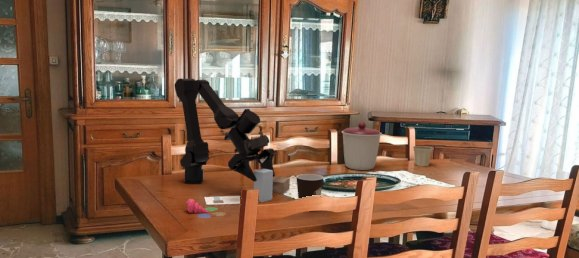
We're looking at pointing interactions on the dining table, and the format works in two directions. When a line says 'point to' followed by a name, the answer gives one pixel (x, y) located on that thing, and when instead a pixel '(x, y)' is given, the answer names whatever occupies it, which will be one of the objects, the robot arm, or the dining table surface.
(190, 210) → the toy pieces
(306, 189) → the coffee mug
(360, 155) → the canister
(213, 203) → the page
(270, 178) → the tall brick
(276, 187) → the base block
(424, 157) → the flower pot
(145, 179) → the dining table surface
